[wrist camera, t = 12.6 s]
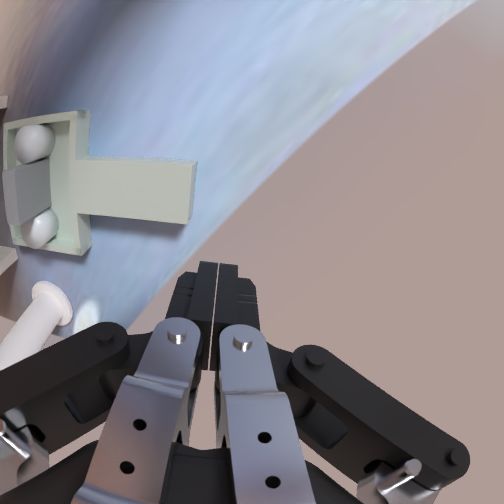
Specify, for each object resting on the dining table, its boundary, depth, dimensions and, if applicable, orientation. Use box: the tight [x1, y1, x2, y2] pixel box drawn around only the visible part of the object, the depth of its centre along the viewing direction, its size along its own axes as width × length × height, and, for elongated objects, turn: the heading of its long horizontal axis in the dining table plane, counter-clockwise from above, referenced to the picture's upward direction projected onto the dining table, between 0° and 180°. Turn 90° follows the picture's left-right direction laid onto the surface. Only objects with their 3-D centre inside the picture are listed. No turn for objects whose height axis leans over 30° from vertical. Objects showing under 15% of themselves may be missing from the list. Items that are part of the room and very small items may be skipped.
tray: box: [2, 110, 197, 256], centre depth 19 cm, size 22×14×6 cm, turn 81°
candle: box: [0, 281, 73, 371], centre depth 17 cm, size 7×7×25 cm
